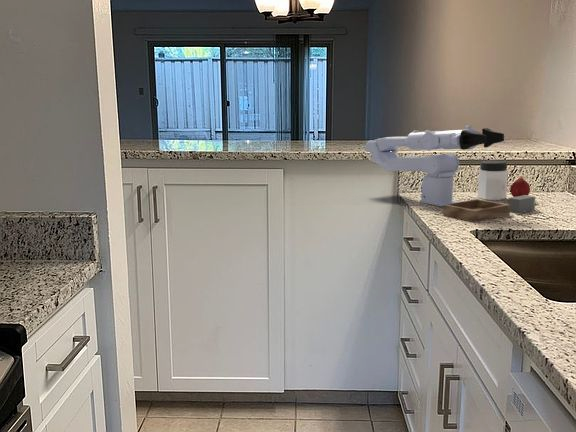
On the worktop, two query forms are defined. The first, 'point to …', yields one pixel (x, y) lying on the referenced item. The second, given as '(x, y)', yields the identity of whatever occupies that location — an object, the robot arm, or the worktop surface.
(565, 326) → the worktop surface
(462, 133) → the robot arm
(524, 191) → the onion
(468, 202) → the wooden tray
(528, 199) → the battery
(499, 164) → the jar
